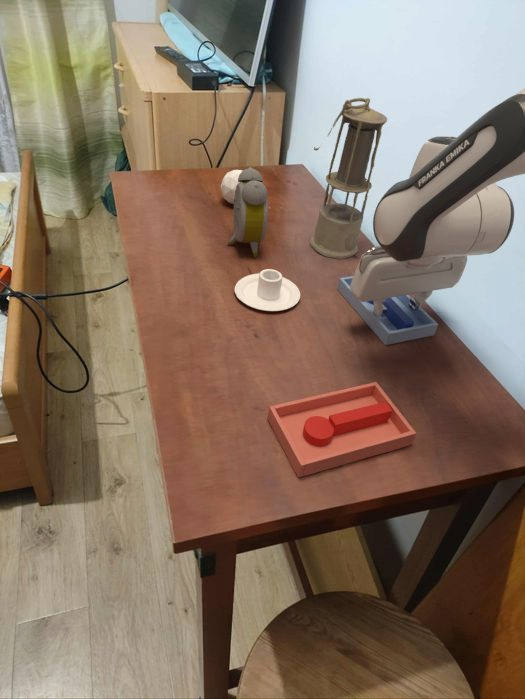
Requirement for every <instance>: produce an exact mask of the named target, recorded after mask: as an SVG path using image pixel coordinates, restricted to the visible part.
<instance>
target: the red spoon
mask: <svg viewBox="0 0 525 699" xmlns="http://www.w3.org/2000/svg"><path fill="white" fill-rule="evenodd" d="M391 413H392V410H391V408H390V407H389V406H388V404H387V403H386V402H382V403H378V404H374V405H370V406H366V407H362V408H358V409H354V410H350V411H345V412H341V413H337V414H333V415H330V416H329V419H326V418H324V417H321V416H313V417H310V418H308V419H307V420H306V421H305V424H304V428H303V437H304V439H305V440H306V441H307V442H308V443H310V444H311V445H314V446H325V445H327V444H329V443H330V442H331V440H332V436H336V435H340V434H344V433H348V432H351V431H355V430H359V429H363V428H367V427H370V426H374V425H378V424H382V423H386V422H388V420H389V418H390V415H391Z"/></svg>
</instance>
